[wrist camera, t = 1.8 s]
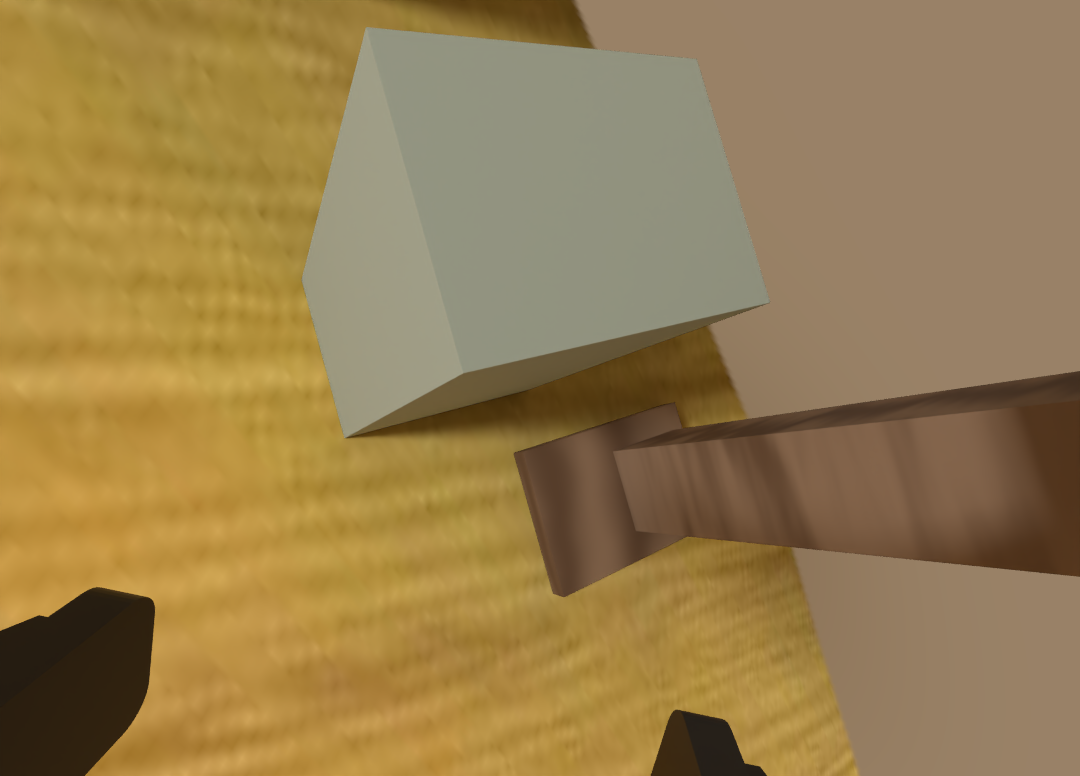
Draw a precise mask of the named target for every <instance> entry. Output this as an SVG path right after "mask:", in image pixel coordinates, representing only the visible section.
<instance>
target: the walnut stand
mask: <svg viewBox="0 0 1080 776" xmlns="http://www.w3.org/2000/svg"><path fill="white" fill-rule="evenodd" d="M514 456H515V460H516V463H517V467H518V470H519V474H520V477H521V481H522V485H523V488H524V492H525V495H526V499H527V502H528V506H529V509H530V513H531V516H532V520H533V524H534V527H535V531H536V534H537V538H538V541H539V545H540V548H541V552H542V555H543V559H544V563H545V566H546V570H547V573H548V577H549V580H550V584H551V587H552V591H553V594H556V595H559V596H562V597H566V596H568V595H570V594H572V593H574V592H576V591H578V590H580V589H582V588H584V587H586V586H588V585H590V584H592V583H594V582H596V581H598V580H600V579H602V578H604V577H606V576H608V575H610V574H612V573H614V572H616V571H618V570H620V569H622V568H624V567H626V566H628V565H630V564H632V563H634V562H636V561H638V560H640V559H642V558H644V557H646V556H648V555H650V554H652V553H654V552H657V551H659V550H661V549H663V548H665V547H667V546H669V545H671V544H673V543H675V542H677V541H679V540H681V539H683V538H685V537H687V536H689V537H698V538H708V539H718V540H728V541H737V542H747V543H757V544H767V545H776V546H786V547H796V548H806V549H815V550H825V551H835V552H845V553H855V554H865V555H874V556H883V557H893V558H904V559H913V560H923V561H933V562H942V563H952V564H962V565H972V566H982V567H991V568H1001V569H1011V570H1020V571H1030V572H1039V573H1049V574H1060V575H1069V576H1079V577H1080V371H1078V372H1071V373H1064V374H1058V375H1050V376H1044V377H1037V378H1030V379H1022V380H1016V381H1009V382H1002V383H995V384H988V385H981V386H974V387H967V388H960V389H954V390H946V391H940V392H933V393H926V394H918V395H912V396H905V397H898V398H891V399H884V400H878V401H870V402H863V403H857V404H849V405H842V406H835V407H828V408H821V409H815V410H808V411H801V412H794V413H787V414H780V415H773V416H766V417H759V418H752V419H745V420H738V421H731V422H724V423H717V424H710V425H703V426H697V427H690V428H683V429H682V425H681V422H680V419H679V415H678V412H677V408H676V405H675V402H674V403H669V404H664V405H661V406H657V407H654V408H651V409H648V410H645V411H642V412H639V413H636V414H633V415H630V416H626V417H623V418H620V419H617V420H614V421H611V422H608V423H605V424H602V425H599V426H596V427H592V428H589V429H586V430H583V431H580V432H577V433H574V434H571V435H568V436H565V437H562V438H558V439H555V440H552V441H549V442H546V443H543V444H540V445H537V446H534V447H531V448H527V449H524V450H521V451H518V452H515V453H514Z"/></svg>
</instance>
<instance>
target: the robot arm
mask: <svg viewBox="0 0 1080 776" xmlns="http://www.w3.org/2000/svg"><path fill="white" fill-rule="evenodd" d="M154 617H155V606H154V602H153V601H152V599H150V598H148V597H144V596H139V595H134V594H129V593H125V592H120V591H115V590H110V589H105V588H100V587H96V588H92V589H90V590H87V591H86V592H84V593H82V594H81V595H79V596H78V597H77V598H75V599H74V600H72V601H71V602H69V603H68V604H66V605H65V606H63V607H62V608H61V609H59V610H58V611H56V612H55V613H53V614H52V615H50V616H49V617H44V616H40V615H39V616H36V617H34V618H31V619H29V620H26V621H24V622H21V623H19V624H16V625H14V626H11V627H9V628H6V629H4V630H1V631H0V776H85V775H86V774H87V773H88V771H89V770H90V769H91V768H92V767H93V766H94V765H95V764H96V763H97V762H98V761H99V760H100V759H101V757H102V756H103V755H104V754H105V753H106V752H107V751H108V750H109V749H110V748H111V747H112V746H113V744H114V743H115V742H116V741H117V740H118V739H119V738H120V737H121V736H122V735H123V734H124V732H125V731H126V730H127V729H128V727H129V726H130V725H131V723H132V722H133V720H134V719H135V717H136V715H137V714H138V712H139V710H140V708H141V706H142V704H143V701H144V699H145V696H146V693H147V689H148V685H149V676H150V664H151V652H152V641H153V629H154ZM651 776H767V775H766V774H765V773H764V771H763V770H762V769H761V767H759V766H754V765H750V764H745V763H744V761H743V758H742V756H741V753H740V751H739V748H738V746H737V743H736V740H735V738H734V735H733V733H732V730H731V728H730V726H729V724H728V723H727V722H726V721H725V720H723V719H719V718H715V717H710V716H705V715H700V714H695V713H691V712H686V711H681V710H675V711H673V713H672V714H671V716H670V718H669V720H668V723H667V726H666V730H665V733H664V736H663V739H662V742H661V745H660V748H659V752H658V755H657V758H656V761H655V764H654V767H653V770H652V773H651Z"/></svg>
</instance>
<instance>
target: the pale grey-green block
mask: <svg viewBox="0 0 1080 776" xmlns="http://www.w3.org/2000/svg"><path fill="white" fill-rule="evenodd" d="M302 283H303V287H304V290H305V294H306V298H307V301H308V305H309V309H310V312H311V316H312V320H313V323H314V327H315V331H316V334H317V338H318V342H319V345H320V349H321V353H322V357H323V360H324V364H325V368H326V371H327V375H328V379H329V382H330V386H331V390H332V393H333V397H334V401H335V404H336V408H337V412H338V416H339V419H340V423H341V427H342V430H343V434H344V438H347V437H351V436H355V435H358V434H362V433H366V432H370V431H374V430H378V429H381V428H385V427H389V426H393V425H397V424H400V423H404V422H408V421H412V420H416V419H419V418H423V417H427V416H431V415H435V414H438V413H442V412H446V411H450V410H454V409H457V408H461V407H465V406H469V405H473V404H476V403H480V402H484V401H488V400H492V399H495V398H499V397H503V396H507V395H511V394H514V393H518V392H522V391H526V390H529V389H532V388H535V387H538V386H541V385H543V384H546V383H549V382H552V381H554V380H557V379H560V378H563V377H565V376H568V375H571V374H574V373H577V372H579V371H582V370H585V369H588V368H590V367H593V366H596V365H599V364H601V363H604V362H607V361H610V360H613V359H615V358H618V357H621V356H624V355H626V354H629V353H632V352H635V351H638V350H640V349H643V348H646V347H649V346H651V345H654V344H657V343H660V342H662V341H665V340H668V339H671V338H674V337H676V336H679V335H682V334H685V333H687V332H690V331H693V330H696V329H698V328H701V327H704V326H707V325H710V324H712V323H715V322H718V321H721V320H723V319H726V318H729V317H732V316H734V315H737V314H740V313H743V312H746V311H748V310H751V309H754V308H756V307H759V306H762V305H765V304H768V303H770V300H769V297H768V294H767V290H766V287H765V284H764V281H763V277H762V274H761V270H760V267H759V264H758V260H757V257H756V254H755V250H754V247H753V244H752V241H751V237H750V234H749V231H748V227H747V224H746V221H745V217H744V214H743V211H742V207H741V204H740V201H739V198H738V194H737V191H736V187H735V184H734V181H733V178H732V174H731V171H730V168H729V164H728V161H727V158H726V155H725V151H724V148H723V145H722V141H721V138H720V134H719V131H718V128H717V124H716V121H715V118H714V115H713V112H712V108H711V105H710V101H709V98H708V95H707V91H706V88H705V85H704V82H703V78H702V75H701V71H700V69H699V65H698V62H697V59H691V58H682V57H670V56H660V55H650V54H640V53H629V52H619V51H608V50H598V49H588V48H577V47H567V46H556V45H546V44H535V43H525V42H514V41H504V40H494V39H483V38H473V37H462V36H452V35H441V34H431V33H420V32H410V31H399V30H389V29H379V28H368V27H366V30H365V34H364V38H363V42H362V46H361V50H360V54H359V58H358V62H357V65H356V69H355V73H354V77H353V81H352V85H351V89H350V93H349V97H348V101H347V105H346V108H345V112H344V116H343V120H342V124H341V128H340V132H339V136H338V140H337V144H336V148H335V151H334V155H333V159H332V163H331V167H330V171H329V175H328V179H327V183H326V187H325V191H324V194H323V198H322V202H321V206H320V210H319V214H318V218H317V222H316V226H315V230H314V233H313V237H312V241H311V245H310V249H309V253H308V257H307V261H306V265H305V269H304V273H303V276H302Z"/></svg>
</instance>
